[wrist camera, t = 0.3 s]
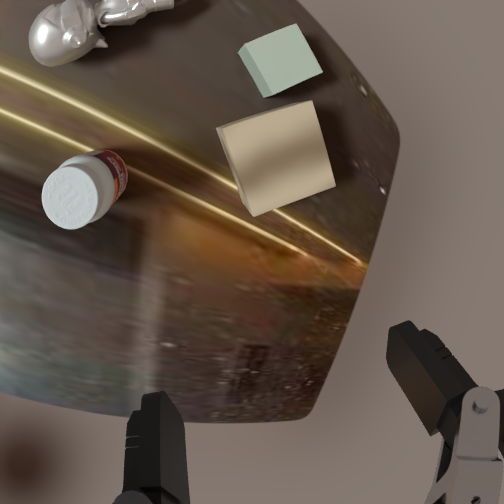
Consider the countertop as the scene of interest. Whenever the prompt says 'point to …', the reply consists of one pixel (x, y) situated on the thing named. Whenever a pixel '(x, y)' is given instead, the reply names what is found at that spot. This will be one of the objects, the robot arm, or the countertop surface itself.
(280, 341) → the countertop surface
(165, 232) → the countertop surface
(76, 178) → the pill bottle
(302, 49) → the sage block
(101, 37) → the figurine
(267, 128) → the oak block
